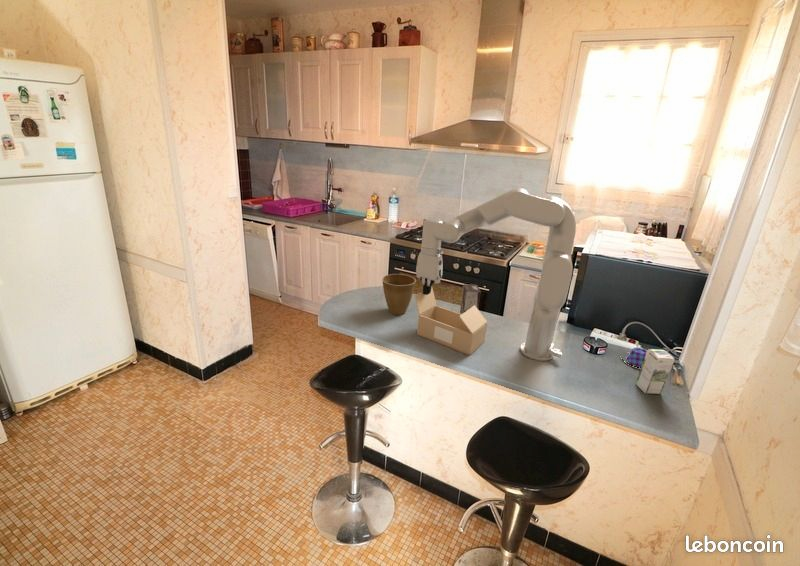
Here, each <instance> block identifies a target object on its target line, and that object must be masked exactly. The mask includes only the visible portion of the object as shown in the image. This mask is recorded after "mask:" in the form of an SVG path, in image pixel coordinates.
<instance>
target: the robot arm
mask: <svg viewBox="0 0 800 566" xmlns="http://www.w3.org/2000/svg"><path fill="white" fill-rule="evenodd" d="M512 217H514V218H517V219H519V220H522V221H526V222H529V223H533V224H536V225H539V226H543V227H547V228H549V230H548V236H547V241H546V246H545V251H544V255H543V258H542V262H541V265H542V266H541V274H540V278H539V280H538V281H537V283H536V287H535V291H534V298H533V303H532V309H531V313H530V318H529V324H528V328H527V333H526V337H525V342H523V343H521V344H520V345H519V346H520V347H519V351H520V352H521V354H522V355H524V356H525V357H527V358H530V359H531V360H535V361H540V362H542V361H543V362H544V361H545V362H547V361H550V360H552V359H553V358H554V357H556V358H559V359H562V356H563V353H562V352H561V350H560V349H559V348H558V349H557V348H555V347H554V346H555V343H553V341H554V337H555V332H556V330H557V329H556V328H557V323H558V320H559V316H560V311H561V308H562V307H563V306H564V305H565V303H566V300H567V297H568V292H569V290H570V289H569V288H570V284H571V280H572V274H573V268H574V267H573V262H572V253H573V247H574V243H575V237H576V231H577V230H576V228H577V226H576V225H577V223H576V218H575V215H574V211H573V209H572V208H571V207H570V205H569V204H568V203H567V202H565V201H564V200H563V199H562V198H559V197H557V196H555V195H553V196H552V195H550V196H547V197H540V196H536V195H532V194H529V192H528V191H527V190H526V189H525V188H521V187H516V188H512V189H511V190H509V191H507V192H506V191H505V192H504V193H502V194H500V195H498V196H496V197H494V198H491V199H490V200H489V201H485V202H483V203H482V204H479V205H478V206H476V207H474V208H472V209H470V210H467V211H465V212H463V213H462V214H459V215H457V216H456V217H453V218H452V219H450V220H448V221H447V222H443V220H441V219H438V218H434V217H433V218H426V219H424V221H423V225H422V235H421V237H422V238H421V246H420V247H421V250H420V252H419V254H418V258H417V262H416V269H415V272H416V273H415V274H416V276H415V278H416V277H417V278H418V279H419V280H420V281H421V285H422V286H423V287H422V291H423V294H425V295H428V294H430V292H431V287H432V288H433V286H432V285H434V284H440V283H441V279H442V277H443V273H444V271H443V266H444V265H443V263H444V262H443V254H444V250H442V242H444V243H448V244H452V243H456V242H457V241H458V240H459V239H460V238H461V237H462V236H463V235H465V234H468V233H469V232H472V231H473V230H476V229H478V228H483V227H491V226H494V225H496V224H498V223H500V222H503V221H505V220H507V219H509V218H512Z"/></svg>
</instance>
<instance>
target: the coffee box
mask: <svg viewBox="0 0 800 566" xmlns="http://www.w3.org/2000/svg"><path fill="white" fill-rule="evenodd" d="M481 294H482V292H481V290H480V287H479V285H478V284H470V283H469V284H468V283H467V284H465V283H464V284H463V286H462V294H461V302H460V311H459V313H460V314H463V313H464V312H466V311H467V310H469V309H470V308H471V307H473V306H474V305H475V306H476V307H477V309H478V310H479V307H480V301H481Z"/></svg>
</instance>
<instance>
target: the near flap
mask: <svg viewBox="0 0 800 566" xmlns="http://www.w3.org/2000/svg"><path fill="white" fill-rule="evenodd" d="M459 317H460V319H461V320H462V321H463V323H464V324H465V325H466V327H467V328H468V329H469V331H470V332H471V333H472V334H473V333H474V332H475V331H476V330H477V329H479V328H480V327H481V326H482V325H483V324H485V323H488V320H487V319H486V317H484V315H483V313H482V312H481V311H480V310H479V308H478V309H477V307H476V306H475V305H474V306H473V307H471V308H470V309H469V310H467V311H466V312H464V313H463V314H461V315H460V316H459Z"/></svg>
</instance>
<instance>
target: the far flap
mask: <svg viewBox="0 0 800 566" xmlns="http://www.w3.org/2000/svg"><path fill="white" fill-rule="evenodd" d="M414 299H415V304H416V308H417V312H418V315H420V314H421V313H423V312H425V311H426V310H428V309H430V308H431V307H433V306H435V305H436V306H437V301H436V297H435V294H434V287H433V286H432V287H431V292H430V294H428V295H425V294H423V290H422V291H420V292H418V293H417V294H415V295H414Z"/></svg>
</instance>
